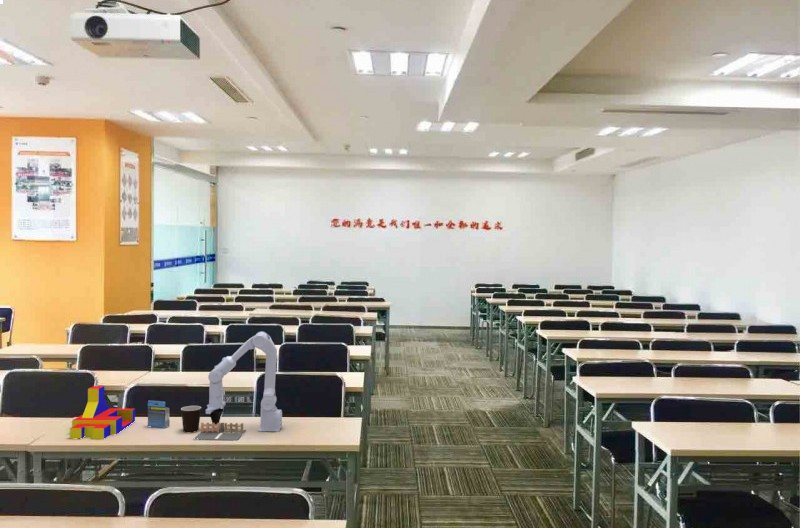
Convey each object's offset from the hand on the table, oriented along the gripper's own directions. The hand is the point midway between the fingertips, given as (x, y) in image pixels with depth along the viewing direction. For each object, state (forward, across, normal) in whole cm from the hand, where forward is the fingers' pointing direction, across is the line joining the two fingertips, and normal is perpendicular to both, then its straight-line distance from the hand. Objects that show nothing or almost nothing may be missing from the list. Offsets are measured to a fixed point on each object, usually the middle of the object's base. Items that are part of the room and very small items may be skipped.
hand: (215, 425), depth 259 cm
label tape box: (+2, +1, -28) cm, 28 cm away
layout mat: (+2, +6, +5) cm, 8 cm away
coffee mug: (+2, +1, -11) cm, 11 cm away
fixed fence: (+2, +3, +9) cm, 10 cm away
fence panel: (+2, +5, 0) cm, 5 cm away
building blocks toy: (+2, +11, -49) cm, 50 cm away
